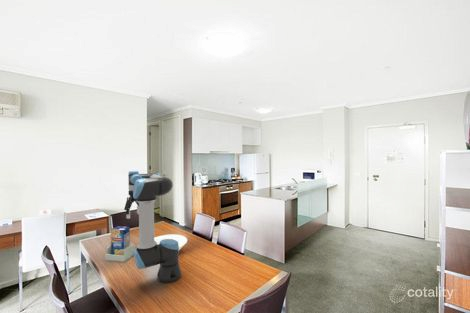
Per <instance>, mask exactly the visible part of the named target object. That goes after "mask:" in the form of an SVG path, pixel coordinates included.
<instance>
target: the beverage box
mask: <svg viewBox="0 0 470 313" xmlns="http://www.w3.org/2000/svg"><path fill="white" fill-rule="evenodd" d="M130 234H131V231H130V226H121V225H120V226H119V225H117V226H115V227H113V228H111V229H110V239H111V240H110V246H111V255H122V256H124V249H125V248H127V247H129V246H130V245H131V241H130V240H131V239H130V238H131V235H130Z"/></svg>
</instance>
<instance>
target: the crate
mask: <svg viewBox="0 0 470 313" xmlns="http://www.w3.org/2000/svg"><path fill="white" fill-rule="evenodd" d="M135 249H136V248H135V243H132V244H130V246H129V247H127V248H125V249H124V256H122V255H111V245H110V246H107V247H106V248H105V253H106V254H105V257H104V258H105V259H104V260H105V261H106V262H107V261H108V262H115V263H117V262H118V263H125V262H126V261H128V260H129V259H131V258H132V257H134V250H135Z"/></svg>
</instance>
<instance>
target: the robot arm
mask: <svg viewBox="0 0 470 313" xmlns="http://www.w3.org/2000/svg"><path fill="white" fill-rule="evenodd" d="M127 180H128V197H126V202H125V205H124V209H123V210H124V211H126V212H125V213H126V217H125V218H126V219H128V220H129V219H131V208H132V206H133V204H134V202H135V204H136V214H137V215H138V232H139V233H138V234H139V235H138V240H139V241H138V242H139V243H138V244H136V248H134V249H135V250H134V255H133V258H134V264H135V266H136V269H138V270H143V269H147V268H150V267H154V266H157V265H159V267H158V268H159V269H158V271H157V274H156V276H157V277H156V279H157V281H158V282H159V283H162V284H170V283H174V282H175V281H176V282H177V281H178V280H179V279H180V278H181V277H182V268H181V266H180V263H179V261H180V260H179V255H180V254H179V251H180V250H179V249H180V248H179V246H180V245H179V242H178V240H176V239H173V238H165V239H161V240H160V241H159V243H158V242H157V241H156V240H155V201H157V197H161V196H164V195H167V194H169V193H170V192H171V191H172V189H173V186H174V185H173V181H172V179H171V178H169V177H166V176H162V175H161V173H158V172H157V173H156V172H155V173H153V172H152V173H139V171H138V170H129V171H128V179H127Z"/></svg>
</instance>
